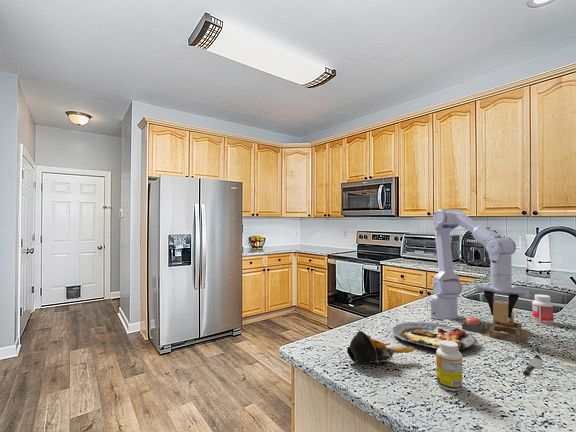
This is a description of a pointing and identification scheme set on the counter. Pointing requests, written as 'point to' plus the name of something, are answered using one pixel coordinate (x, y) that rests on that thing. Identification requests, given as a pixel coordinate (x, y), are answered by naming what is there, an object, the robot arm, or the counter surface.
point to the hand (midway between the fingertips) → (501, 315)
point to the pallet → (507, 332)
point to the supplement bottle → (449, 366)
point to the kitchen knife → (534, 365)
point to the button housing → (473, 327)
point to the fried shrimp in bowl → (372, 350)
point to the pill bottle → (542, 310)
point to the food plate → (432, 334)
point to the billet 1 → (500, 311)
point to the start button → (473, 321)
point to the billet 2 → (511, 321)
